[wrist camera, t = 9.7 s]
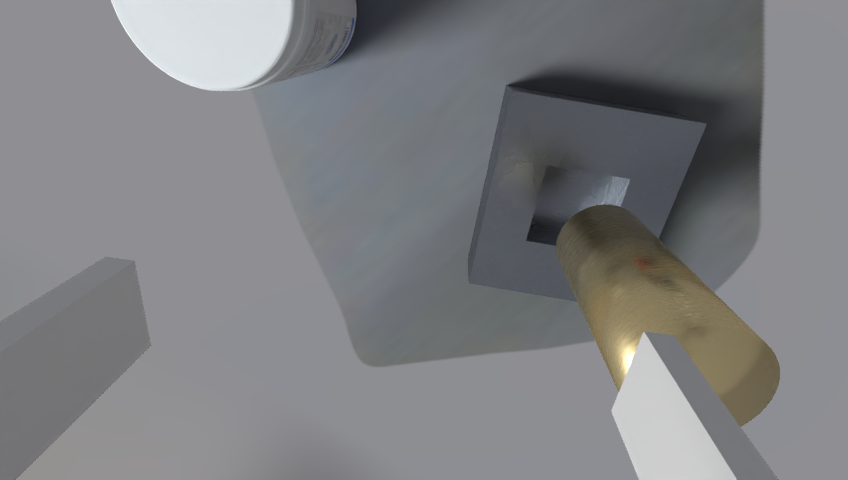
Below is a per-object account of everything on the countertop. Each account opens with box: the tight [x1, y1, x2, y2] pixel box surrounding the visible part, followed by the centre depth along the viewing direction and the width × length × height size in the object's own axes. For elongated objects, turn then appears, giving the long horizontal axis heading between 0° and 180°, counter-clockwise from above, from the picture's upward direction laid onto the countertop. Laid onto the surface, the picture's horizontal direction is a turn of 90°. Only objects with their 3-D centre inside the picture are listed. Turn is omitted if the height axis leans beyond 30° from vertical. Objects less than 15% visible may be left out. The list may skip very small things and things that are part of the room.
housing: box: [468, 85, 707, 301], centre depth 36 cm, size 16×14×4 cm
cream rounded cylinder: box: [556, 204, 780, 427], centre depth 23 cm, size 6×6×13 cm
